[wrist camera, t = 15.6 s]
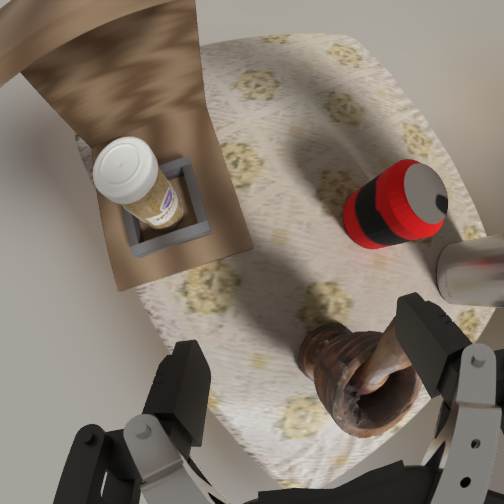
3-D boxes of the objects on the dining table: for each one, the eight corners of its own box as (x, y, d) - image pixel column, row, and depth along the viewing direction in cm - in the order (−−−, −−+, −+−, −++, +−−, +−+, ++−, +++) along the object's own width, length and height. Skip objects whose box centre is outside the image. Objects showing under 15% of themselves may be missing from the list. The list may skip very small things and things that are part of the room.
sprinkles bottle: (182, 232, 29) (145, 196, 15) (143, 231, 28) (84, 197, 15) (186, 192, 29) (156, 132, 16) (147, 192, 29) (98, 136, 15)
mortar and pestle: (260, 334, 29) (310, 424, 9) (316, 282, 30) (439, 285, 10) (321, 397, 29) (406, 496, 9) (371, 349, 30) (491, 400, 10)
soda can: (384, 258, 31) (448, 248, 19) (334, 235, 31) (387, 211, 19) (397, 206, 32) (456, 178, 20) (350, 181, 32) (401, 139, 20)
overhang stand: (203, 100, 32) (186, -74, 6) (252, 248, 30) (349, 113, 5) (93, 139, 30) (-9, 16, 5) (121, 291, 28) (-82, 304, 3)
